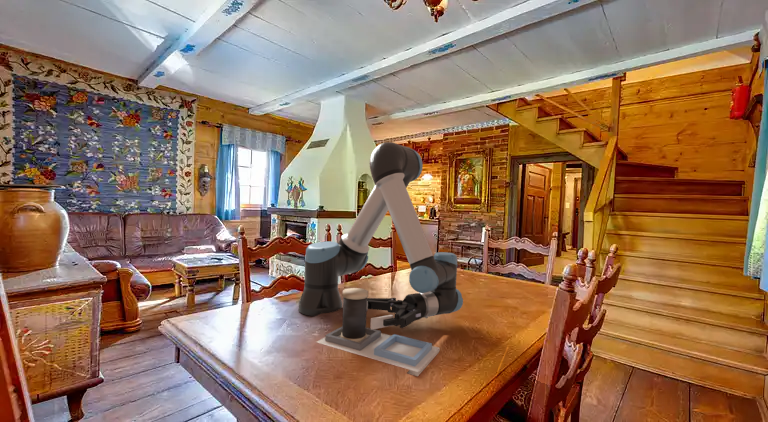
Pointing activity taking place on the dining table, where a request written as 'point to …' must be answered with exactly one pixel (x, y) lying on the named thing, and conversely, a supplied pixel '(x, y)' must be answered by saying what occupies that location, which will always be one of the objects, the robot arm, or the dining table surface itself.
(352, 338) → the cable spool
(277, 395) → the dining table surface
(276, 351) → the dining table surface
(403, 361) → the grey flat tray
